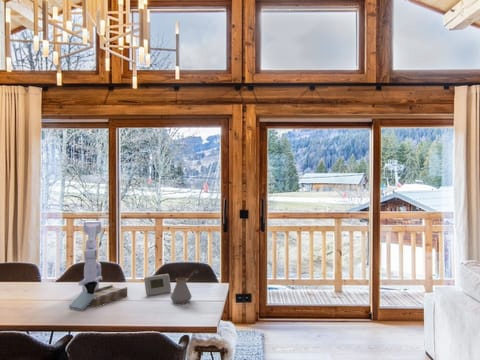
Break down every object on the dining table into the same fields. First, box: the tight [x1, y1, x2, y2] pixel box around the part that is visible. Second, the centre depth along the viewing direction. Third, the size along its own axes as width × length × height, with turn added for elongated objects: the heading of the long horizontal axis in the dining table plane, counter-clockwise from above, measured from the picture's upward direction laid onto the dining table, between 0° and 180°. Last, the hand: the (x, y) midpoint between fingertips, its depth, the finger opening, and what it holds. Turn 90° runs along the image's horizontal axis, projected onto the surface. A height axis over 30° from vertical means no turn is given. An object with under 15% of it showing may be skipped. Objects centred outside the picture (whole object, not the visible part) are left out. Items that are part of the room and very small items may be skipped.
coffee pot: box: [170, 269, 199, 305], centre depth 222 cm, size 21×12×15 cm, turn 153°
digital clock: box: [144, 273, 172, 297], centre depth 235 cm, size 16×9×11 cm, turn 114°
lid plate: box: [68, 291, 95, 311], centre depth 208 cm, size 10×9×2 cm
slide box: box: [85, 284, 128, 307], centre depth 222 cm, size 22×13×5 cm, turn 152°
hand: (90, 295), depth 213 cm, fingers closed
